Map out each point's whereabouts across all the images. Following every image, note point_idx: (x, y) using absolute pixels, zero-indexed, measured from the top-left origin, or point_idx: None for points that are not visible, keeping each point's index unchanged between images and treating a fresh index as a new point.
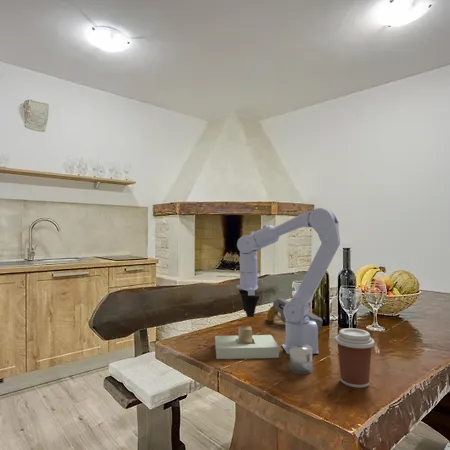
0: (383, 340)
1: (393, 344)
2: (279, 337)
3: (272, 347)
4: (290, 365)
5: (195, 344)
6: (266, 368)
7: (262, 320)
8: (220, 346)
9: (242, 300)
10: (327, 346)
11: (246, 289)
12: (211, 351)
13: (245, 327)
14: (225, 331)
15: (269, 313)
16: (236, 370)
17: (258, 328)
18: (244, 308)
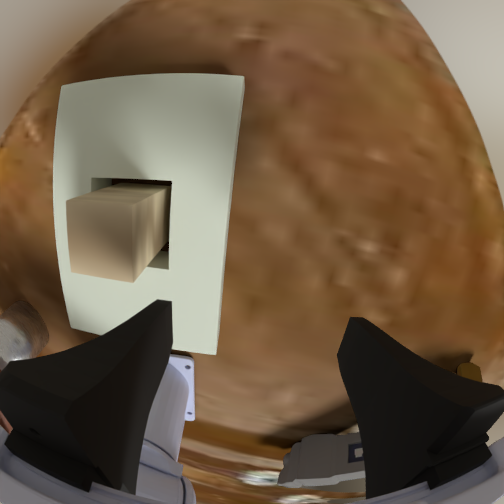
0: (221, 493)
1: (197, 492)
2: (295, 373)
3: (66, 307)
4: (14, 306)
5: (275, 14)
6: (20, 247)
7: (474, 346)
8: (77, 99)
9: (395, 361)
10: (187, 437)
11: (3, 487)
12: (165, 68)
13: (110, 247)
14: (434, 187)
15: (473, 378)
16: (10, 160)
17: (419, 326)
18: (357, 330)
